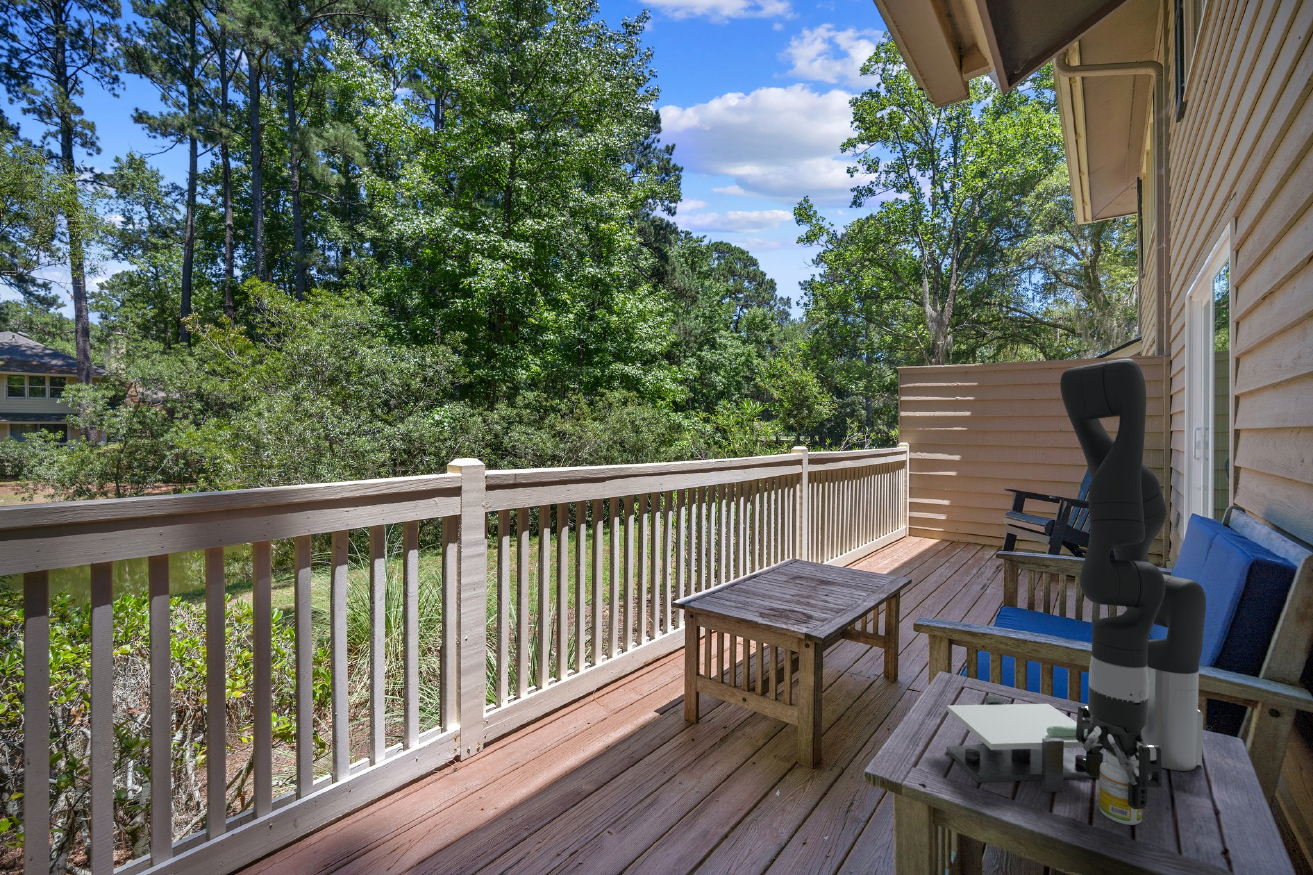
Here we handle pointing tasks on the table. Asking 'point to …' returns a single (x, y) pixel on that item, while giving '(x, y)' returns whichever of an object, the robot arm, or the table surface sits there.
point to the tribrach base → (1021, 761)
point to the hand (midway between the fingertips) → (1114, 790)
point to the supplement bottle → (1116, 792)
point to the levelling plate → (1016, 725)
